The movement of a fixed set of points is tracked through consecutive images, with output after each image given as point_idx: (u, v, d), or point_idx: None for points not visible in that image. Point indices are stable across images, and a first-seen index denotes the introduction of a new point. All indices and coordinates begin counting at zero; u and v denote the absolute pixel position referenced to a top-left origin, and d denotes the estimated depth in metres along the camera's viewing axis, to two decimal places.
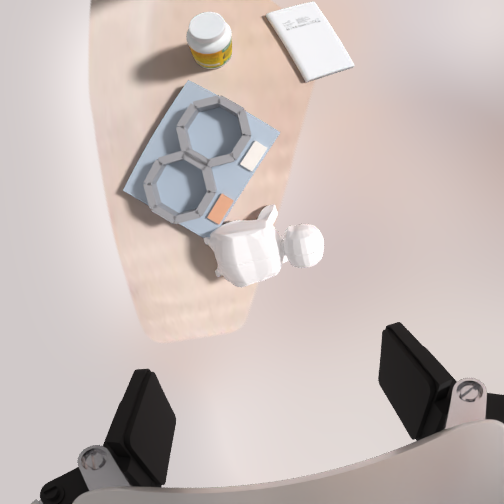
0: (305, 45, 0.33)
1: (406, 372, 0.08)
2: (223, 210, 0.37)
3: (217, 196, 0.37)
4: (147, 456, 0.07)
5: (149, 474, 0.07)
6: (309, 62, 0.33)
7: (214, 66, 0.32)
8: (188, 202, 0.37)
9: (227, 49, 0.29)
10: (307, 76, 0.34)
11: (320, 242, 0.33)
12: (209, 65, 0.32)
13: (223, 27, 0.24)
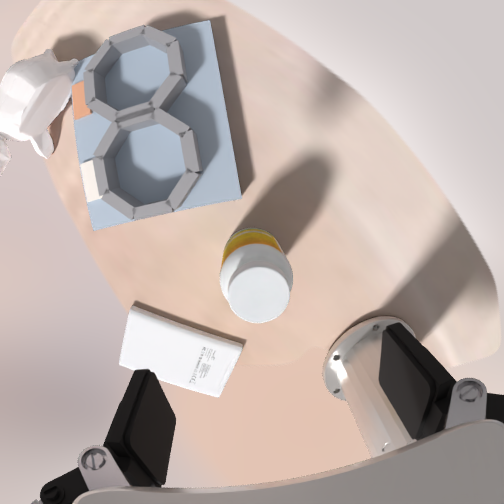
0: (170, 346, 0.29)
1: (406, 372, 0.08)
2: (76, 101, 0.20)
3: None
4: (147, 456, 0.07)
5: (149, 474, 0.07)
6: (148, 330, 0.28)
7: (229, 240, 0.26)
8: (118, 71, 0.20)
9: None
10: (134, 314, 0.28)
11: None
12: (234, 237, 0.25)
13: (233, 309, 0.19)
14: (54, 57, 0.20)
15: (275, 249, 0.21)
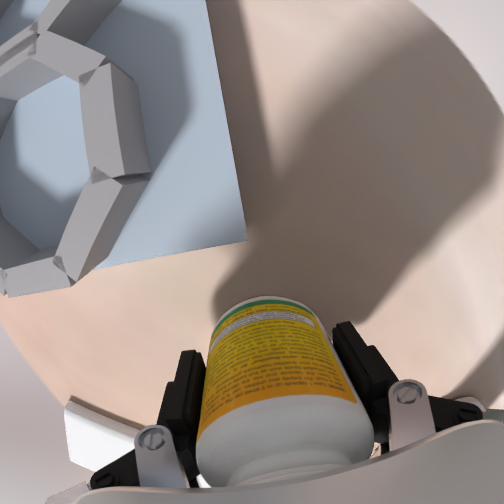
0: None
1: (349, 369, 0.09)
2: None
3: None
4: None
5: None
6: (97, 438, 0.14)
7: (220, 329, 0.11)
8: (20, 3, 0.06)
9: None
10: (72, 416, 0.14)
11: None
12: (230, 326, 0.11)
13: None
14: None
15: (345, 405, 0.06)
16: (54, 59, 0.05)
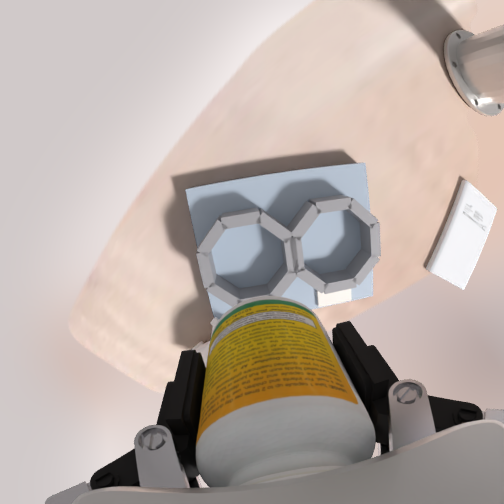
0: (458, 240, 0.30)
1: (349, 369, 0.09)
2: None
3: None
4: None
5: None
6: (446, 257, 0.30)
7: (220, 329, 0.11)
8: (235, 275, 0.28)
9: None
10: (433, 267, 0.30)
11: None
12: (230, 327, 0.11)
13: None
14: (198, 345, 0.31)
15: (346, 406, 0.06)
16: (306, 225, 0.25)
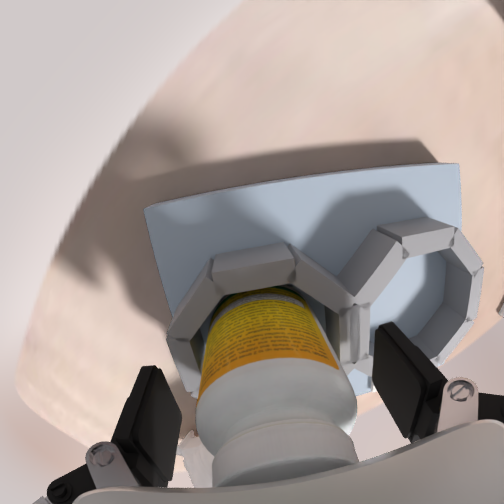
0: None
1: (398, 371, 0.08)
2: None
3: None
4: (155, 452, 0.07)
5: (156, 470, 0.07)
6: None
7: (219, 310, 0.13)
8: None
9: None
10: None
11: None
12: (228, 307, 0.12)
13: None
14: (186, 439, 0.18)
15: (327, 369, 0.08)
16: (382, 282, 0.12)
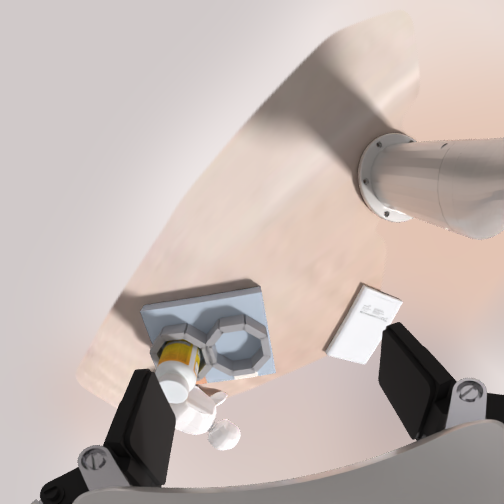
0: (355, 332, 0.42)
1: (406, 372, 0.08)
2: None
3: None
4: (147, 456, 0.07)
5: (149, 474, 0.07)
6: (342, 345, 0.43)
7: (165, 344, 0.38)
8: None
9: None
10: (330, 352, 0.43)
11: (235, 444, 0.39)
12: (167, 344, 0.37)
13: None
14: None
15: (183, 364, 0.33)
16: (215, 340, 0.37)
